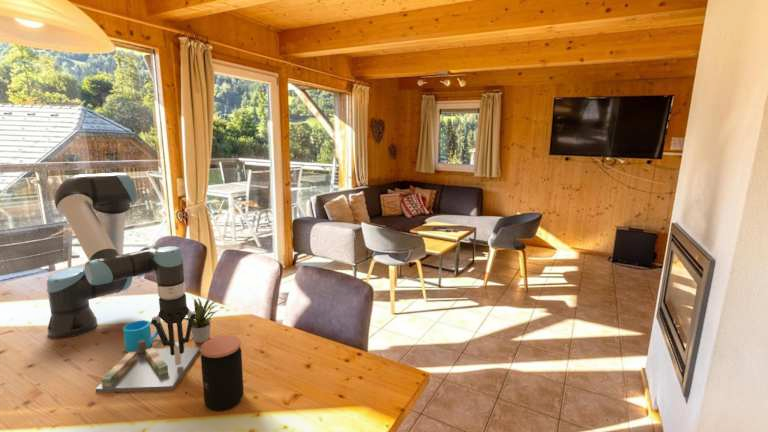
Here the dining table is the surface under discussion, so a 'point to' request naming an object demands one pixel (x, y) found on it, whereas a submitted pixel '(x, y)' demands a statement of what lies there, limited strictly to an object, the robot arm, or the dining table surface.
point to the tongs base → (123, 365)
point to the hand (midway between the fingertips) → (178, 362)
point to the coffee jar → (222, 372)
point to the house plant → (201, 321)
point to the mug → (137, 334)
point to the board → (152, 373)
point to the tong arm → (156, 361)
